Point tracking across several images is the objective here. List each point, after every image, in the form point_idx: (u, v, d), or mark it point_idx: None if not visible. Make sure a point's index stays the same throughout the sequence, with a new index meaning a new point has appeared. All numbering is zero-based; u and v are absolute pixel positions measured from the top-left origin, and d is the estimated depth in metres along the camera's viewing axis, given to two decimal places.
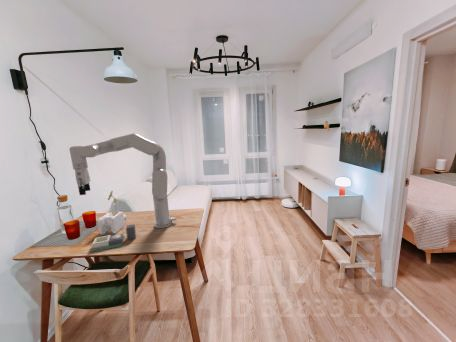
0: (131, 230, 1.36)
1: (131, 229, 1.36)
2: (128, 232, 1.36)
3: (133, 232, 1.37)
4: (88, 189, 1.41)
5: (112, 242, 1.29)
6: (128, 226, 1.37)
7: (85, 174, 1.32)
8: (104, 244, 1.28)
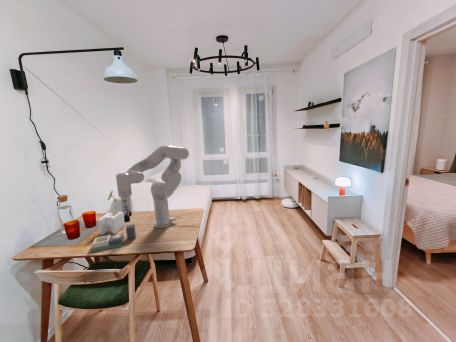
0: (131, 230, 1.36)
1: (131, 229, 1.36)
2: (128, 232, 1.36)
3: (133, 232, 1.37)
4: (130, 215, 1.40)
5: (112, 242, 1.29)
6: (128, 226, 1.37)
7: (130, 201, 1.32)
8: (104, 244, 1.28)
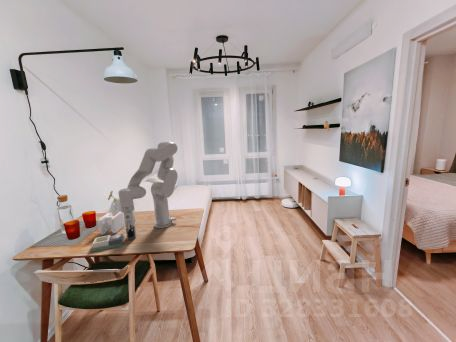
0: None
1: None
2: None
3: None
4: None
5: (112, 242, 1.29)
6: None
7: (133, 216, 1.34)
8: (104, 244, 1.28)
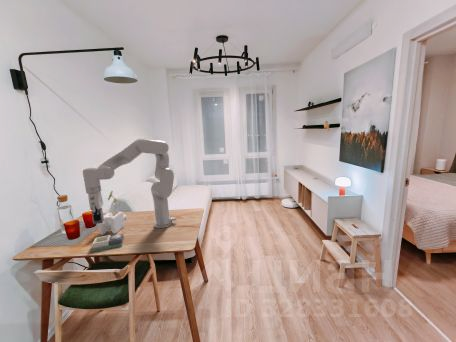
0: None
1: None
2: None
3: None
4: None
5: (112, 242, 1.29)
6: None
7: (99, 198, 1.24)
8: (104, 244, 1.28)
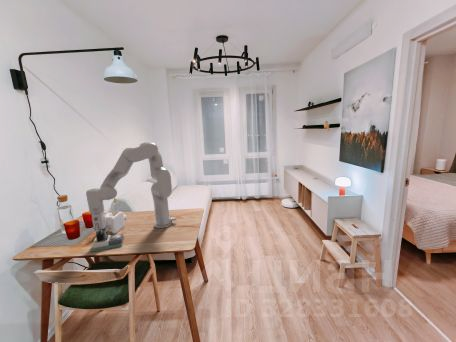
0: None
1: None
2: None
3: None
4: None
5: (112, 242, 1.29)
6: None
7: (102, 218, 1.26)
8: (104, 244, 1.28)
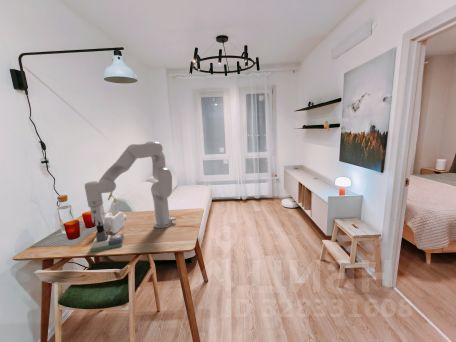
0: (101, 235, 1.28)
1: (101, 235, 1.28)
2: (98, 238, 1.28)
3: (103, 238, 1.29)
4: None
5: (112, 242, 1.29)
6: None
7: (101, 211, 1.25)
8: (104, 244, 1.28)
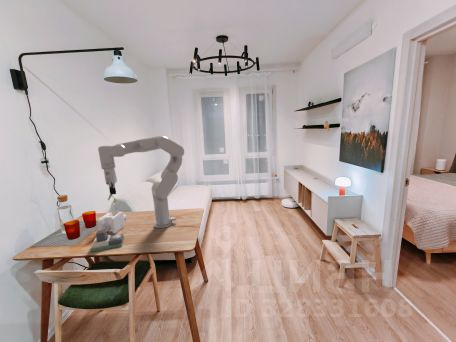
0: (101, 235, 1.28)
1: (101, 235, 1.28)
2: (98, 238, 1.28)
3: (103, 238, 1.29)
4: None
5: (112, 242, 1.29)
6: (98, 231, 1.29)
7: (113, 174, 1.33)
8: (104, 244, 1.28)
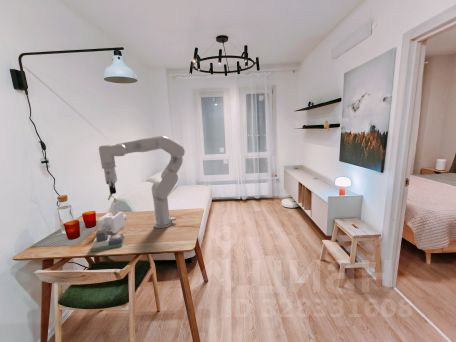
0: (101, 235, 1.28)
1: (101, 235, 1.28)
2: (98, 238, 1.28)
3: (103, 238, 1.29)
4: None
5: (112, 242, 1.29)
6: (98, 231, 1.29)
7: (113, 173, 1.33)
8: (104, 244, 1.28)
